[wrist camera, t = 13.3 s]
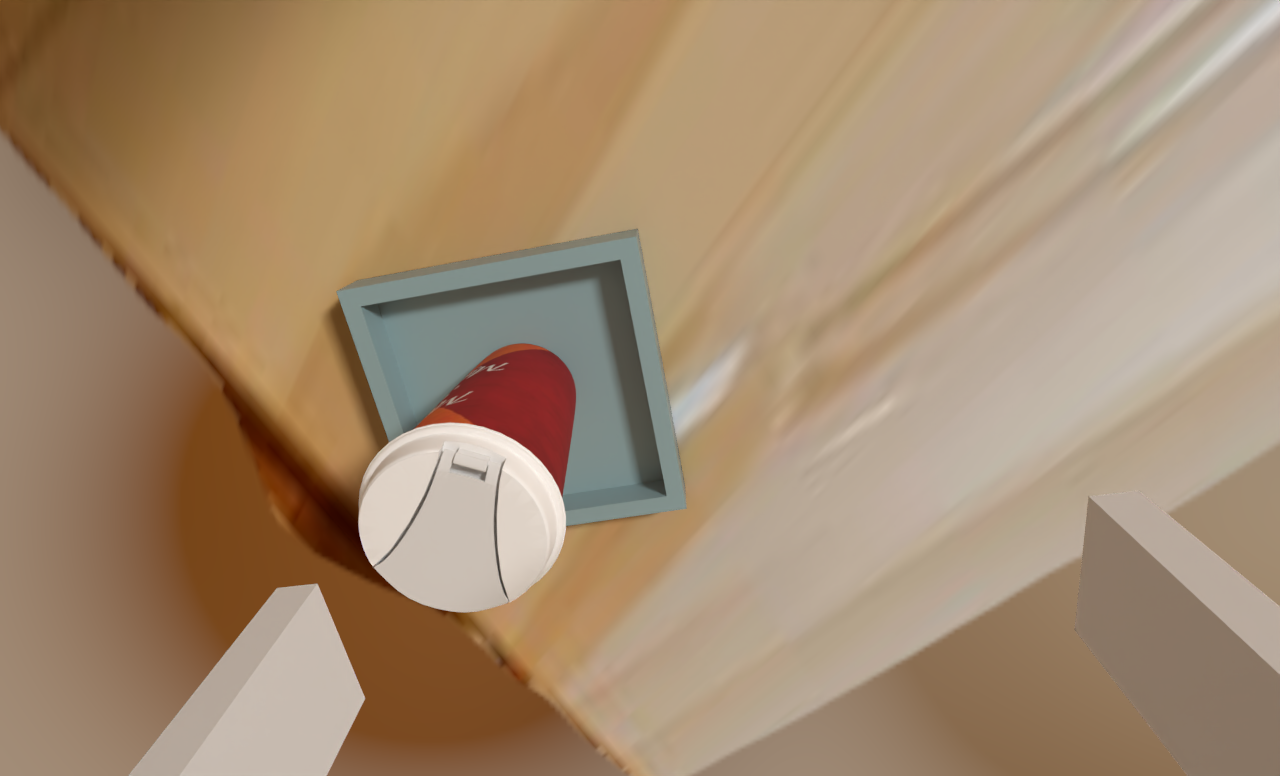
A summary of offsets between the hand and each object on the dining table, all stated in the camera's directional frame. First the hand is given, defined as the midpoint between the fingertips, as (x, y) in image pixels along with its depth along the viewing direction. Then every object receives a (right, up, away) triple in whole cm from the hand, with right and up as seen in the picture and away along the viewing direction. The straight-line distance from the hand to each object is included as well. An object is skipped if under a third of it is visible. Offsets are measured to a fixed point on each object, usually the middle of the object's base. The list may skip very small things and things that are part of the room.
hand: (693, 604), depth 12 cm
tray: (-7, +4, +29) cm, 30 cm away
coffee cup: (-8, +4, +28) cm, 29 cm away
